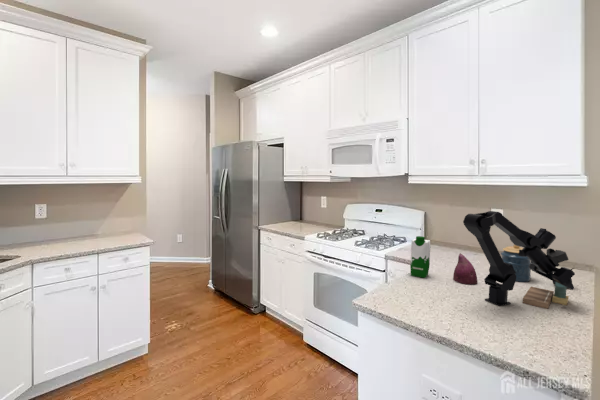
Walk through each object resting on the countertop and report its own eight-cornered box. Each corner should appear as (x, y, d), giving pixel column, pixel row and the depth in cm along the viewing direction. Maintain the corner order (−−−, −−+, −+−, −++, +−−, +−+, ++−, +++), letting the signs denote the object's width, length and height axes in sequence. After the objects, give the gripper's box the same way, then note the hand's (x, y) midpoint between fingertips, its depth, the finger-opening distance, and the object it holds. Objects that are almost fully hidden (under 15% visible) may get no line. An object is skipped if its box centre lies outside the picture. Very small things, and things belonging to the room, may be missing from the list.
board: (547, 309, 119) (548, 303, 119) (522, 302, 125) (522, 297, 125) (553, 295, 134) (553, 290, 134) (530, 290, 139) (530, 286, 139)
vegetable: (451, 287, 151) (443, 257, 151) (458, 280, 158) (450, 251, 158) (475, 288, 143) (466, 256, 144) (481, 280, 151) (473, 249, 151)
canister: (534, 279, 156) (537, 244, 155) (523, 284, 149) (526, 247, 147) (506, 272, 167) (508, 240, 165) (494, 276, 159) (496, 242, 158)
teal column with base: (566, 305, 123) (569, 278, 123) (552, 302, 127) (554, 275, 126) (568, 300, 128) (570, 274, 128) (553, 297, 132) (555, 271, 131)
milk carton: (408, 275, 158) (410, 236, 156) (412, 271, 165) (414, 234, 164) (426, 279, 153) (428, 238, 152) (430, 274, 160) (432, 236, 159)
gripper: (571, 248, 117) (600, 279, 117) (538, 239, 136) (564, 265, 135) (547, 268, 119) (576, 298, 118) (518, 256, 137) (543, 282, 137)
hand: (564, 285), depth 127 cm, fingers open, 8 cm apart
